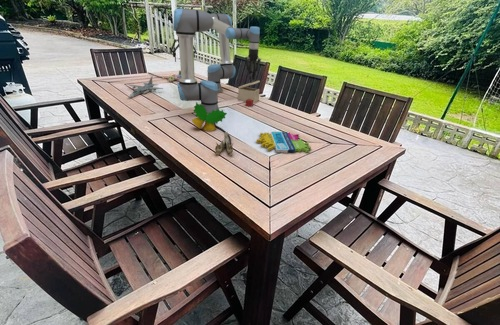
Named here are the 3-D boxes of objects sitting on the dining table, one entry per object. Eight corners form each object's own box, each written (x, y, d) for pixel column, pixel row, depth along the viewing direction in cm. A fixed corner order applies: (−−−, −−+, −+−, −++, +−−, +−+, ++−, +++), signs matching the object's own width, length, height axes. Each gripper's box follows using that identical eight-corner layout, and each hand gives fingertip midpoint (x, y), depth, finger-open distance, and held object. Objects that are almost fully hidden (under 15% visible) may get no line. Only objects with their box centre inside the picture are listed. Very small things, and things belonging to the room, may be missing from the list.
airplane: (122, 88, 234) (120, 76, 229) (158, 85, 247) (157, 74, 242) (127, 100, 206) (124, 88, 201) (167, 97, 219) (166, 85, 214)
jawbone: (234, 135, 144) (233, 125, 135) (233, 160, 138) (232, 151, 129) (217, 135, 144) (216, 125, 135) (216, 160, 138) (214, 150, 129)
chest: (258, 100, 227) (259, 89, 222) (253, 103, 219) (254, 91, 214) (243, 97, 232) (243, 86, 228) (238, 100, 225) (238, 88, 220)
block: (253, 105, 214) (253, 99, 211) (250, 106, 210) (250, 101, 208) (248, 104, 215) (248, 98, 213) (245, 105, 212) (245, 100, 209)
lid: (259, 81, 219) (257, 71, 217) (255, 83, 211) (252, 73, 209) (244, 86, 228) (241, 76, 225) (238, 88, 220) (235, 78, 217)
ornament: (218, 133, 171) (224, 110, 169) (221, 134, 163) (227, 111, 161) (186, 125, 162) (192, 101, 160) (189, 126, 155) (195, 101, 153)
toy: (194, 71, 284) (182, 76, 258) (194, 78, 288) (182, 83, 262) (171, 69, 289) (156, 73, 263) (171, 75, 293) (157, 80, 267)
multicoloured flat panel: (313, 150, 142) (258, 149, 139) (312, 153, 143) (258, 152, 140) (301, 132, 164) (254, 130, 161) (301, 134, 165) (254, 133, 162)
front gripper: (198, 33, 207) (199, 61, 218) (165, 31, 201) (168, 60, 211) (199, 33, 201) (200, 62, 211) (165, 32, 194) (168, 62, 205)
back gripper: (264, 49, 205) (261, 80, 217) (247, 47, 210) (245, 77, 222) (260, 50, 199) (258, 81, 211) (243, 48, 205) (241, 78, 216)
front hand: (184, 61), depth 211 cm, fingers open, 13 cm apart
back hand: (251, 79), depth 216 cm, fingers closed on lid, 2 cm apart
